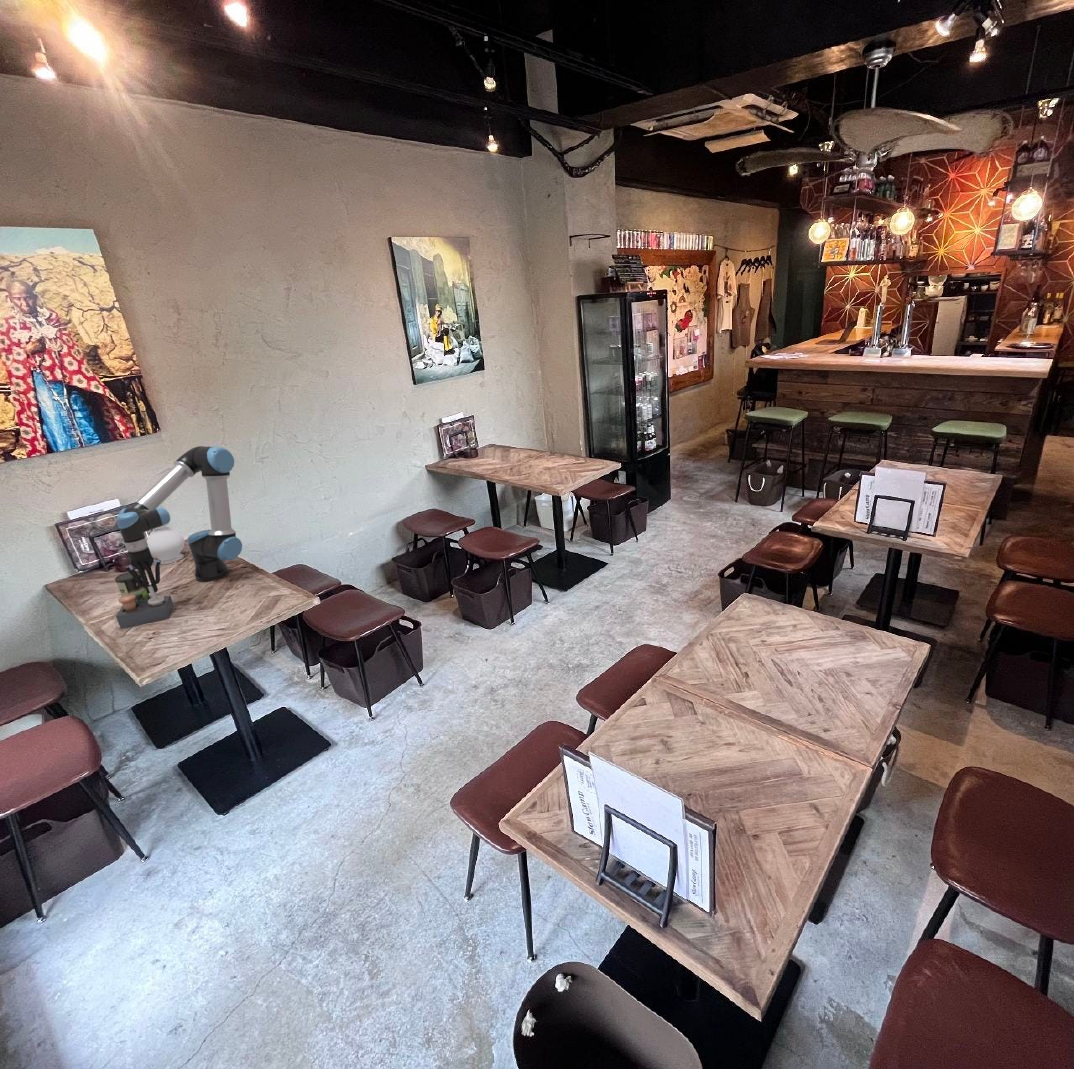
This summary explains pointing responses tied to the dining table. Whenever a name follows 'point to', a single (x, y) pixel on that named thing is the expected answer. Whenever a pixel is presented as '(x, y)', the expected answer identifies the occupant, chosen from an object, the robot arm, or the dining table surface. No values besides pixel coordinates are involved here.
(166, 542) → the decorative vase
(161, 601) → the cream plunger
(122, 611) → the plunger block
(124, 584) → the coffee can
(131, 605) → the terracotta plunger
